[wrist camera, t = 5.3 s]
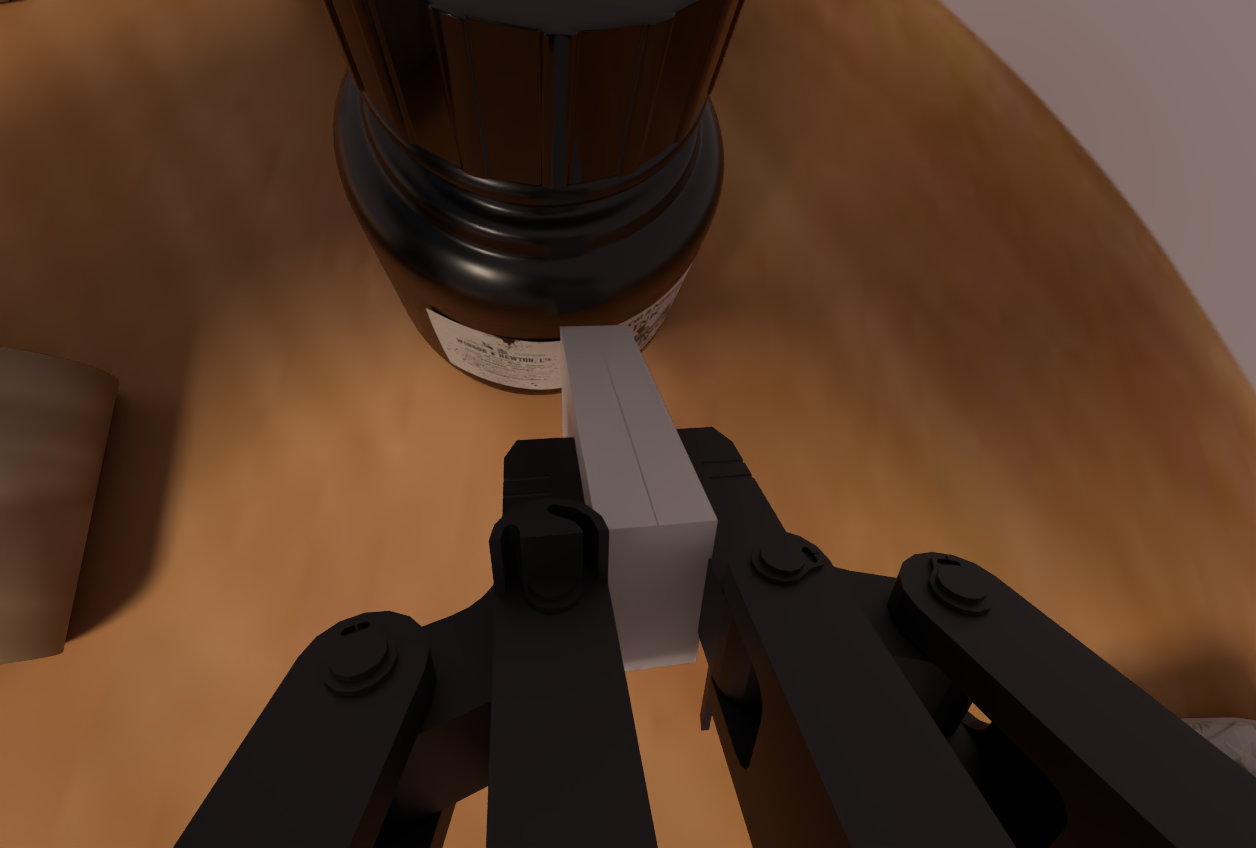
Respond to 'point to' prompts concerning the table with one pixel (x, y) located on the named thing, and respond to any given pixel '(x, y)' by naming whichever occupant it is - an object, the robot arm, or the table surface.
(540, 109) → the ink bottle
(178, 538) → the table surface
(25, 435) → the roller
